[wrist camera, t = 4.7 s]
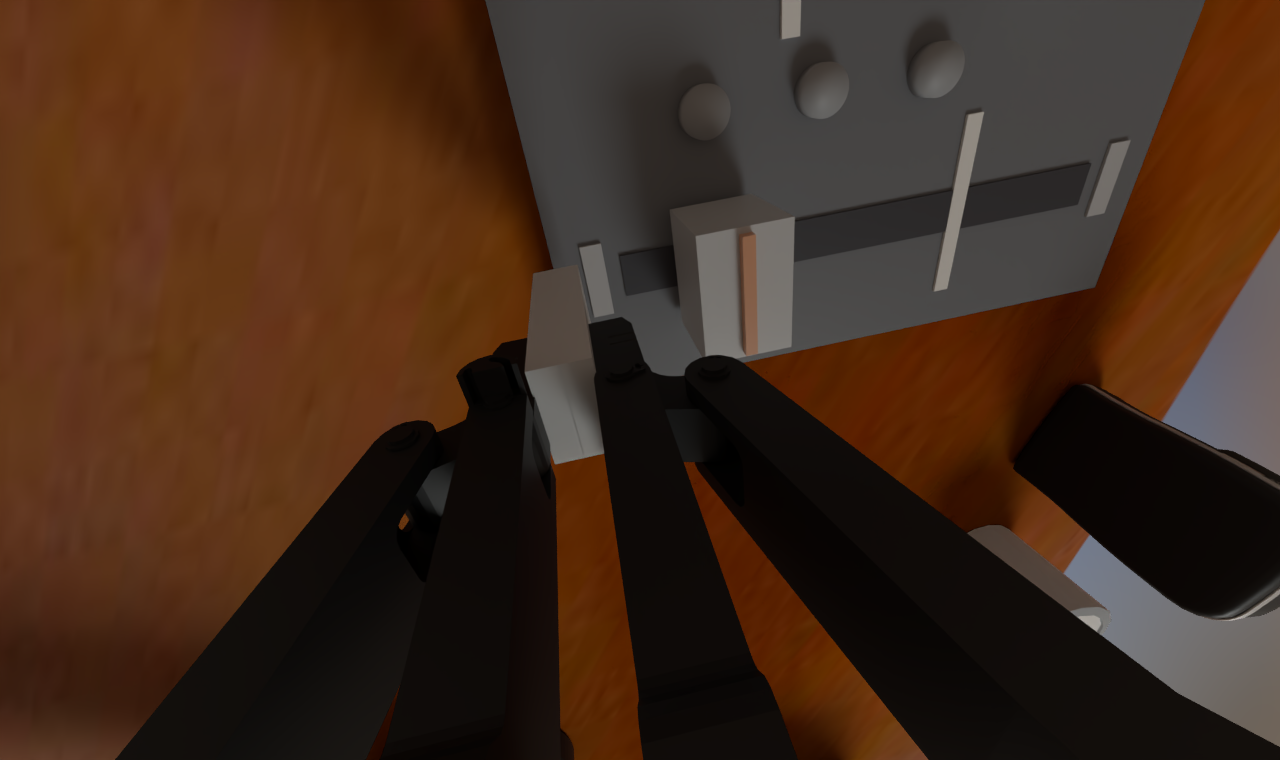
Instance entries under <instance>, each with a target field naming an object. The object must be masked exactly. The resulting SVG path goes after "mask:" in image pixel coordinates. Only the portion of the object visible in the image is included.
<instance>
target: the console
mask: <svg viewBox="0 0 1280 760" xmlns="http://www.w3.org/2000/svg"><path fill="white" fill-rule="evenodd" d="M485 1H486V5H487V9H488V13H489V17H490V21H491V25H492V29H493V33H494V37H495V40H496V44H497V48H498V52H499V56H500V60H501V64H502V68H503V72H504V76H505V80H506V84H507V88H508V92H509V96H510V100H511V104H512V107H513V111H514V115H515V119H516V123H517V127H518V131H519V135H520V139H521V143H522V147H523V151H524V155H525V159H526V163H527V167H528V171H529V174H530V178H531V182H532V186H533V190H534V194H535V198H536V202H537V206H538V210H539V214H540V218H541V222H542V226H543V230H544V234H545V238H546V241H547V245H548V249H549V253H550V257H551V261H552V265H553V269H558V268H563V267H568V266H573V265H578V269H579V273H580V278H581V282H582V286H583V291H584V295H585V300H586V304H587V308H588V313H589V317H590V322H591V323H595V322H600V321H604V320H609V319H614V318H619V317H623V318H624V319H626V320H628V321H629V322H631V323H632V326H633V329H634V333H635V335H636V338H637V341H638V344H639V347H640V350H641V352H642V355H643V358H644V361H645V362H646V363H647V364H648V366H649V367H650V368H651V371H652V372H654V373H657V374H660V375H665V376H682V375H684V373H685V368H686V367H687V366H688V365H689V364H690V363H691V362H693V361H695V360H697V359H699V358H702V356H701V354H700V352H699V351H698V349H697V347H696V345H695V344H694V342H693V340H692V338H691V336H690V335H689V333H688V331H687V329H686V328H685V326H684V324H683V322H682V317H681V308H680V299H679V290H678V281H677V272H676V263H675V254H674V245H673V236H672V227H671V218H670V209H675V208H680V207H685V206H690V205H695V204H701V203H706V202H711V201H716V200H721V199H726V198H732V197H737V196H742V195H747V194H753V195H755V196H757V197H759V198H760V199H762V200H764V201H766V202H768V203H770V204H772V205H774V206H776V207H777V208H779V209H781V210H783V211H785V212H787V213H789V214H791V215H793V216H794V217H795V225H794V264H793V303H792V343H791V347H788V348H784V349H779V350H774V351H770V352H765V353H760V354H756V355H751V356H746V357H741V358H737V360H739V361H741V362H742V363H743V362H748V361H752V360H757V359H762V358H766V357H771V356H776V355H781V354H785V353H790V352H795V351H799V350H804V349H809V348H813V347H818V346H823V345H827V344H832V343H837V342H841V341H846V340H851V339H855V338H860V337H865V336H870V335H874V334H879V333H884V332H888V331H893V330H898V329H902V328H907V327H912V326H916V325H921V324H926V323H930V322H935V321H940V320H944V319H949V318H954V317H958V316H963V315H968V314H973V313H977V312H982V311H987V310H991V309H996V308H1001V307H1005V306H1010V305H1015V304H1019V303H1024V302H1029V301H1033V300H1038V299H1043V298H1047V297H1052V296H1057V295H1062V294H1066V293H1071V292H1076V291H1080V290H1085V289H1090V288H1094V287H1095V286H1096V283H1097V281H1098V278H1099V275H1100V273H1101V270H1102V268H1103V265H1104V262H1105V260H1106V257H1107V255H1108V252H1109V249H1110V247H1111V244H1112V242H1113V239H1114V236H1115V234H1116V231H1117V229H1118V226H1119V223H1120V221H1121V218H1122V216H1123V213H1124V210H1125V208H1126V205H1127V203H1128V200H1129V197H1130V195H1131V192H1132V190H1133V187H1134V184H1135V182H1136V179H1137V177H1138V174H1139V171H1140V169H1141V166H1142V164H1143V161H1144V158H1145V156H1146V153H1147V151H1148V148H1149V145H1150V143H1151V140H1152V138H1153V135H1154V132H1155V130H1156V127H1157V124H1158V122H1159V119H1160V117H1161V114H1162V111H1163V109H1164V106H1165V104H1166V101H1167V98H1168V96H1169V93H1170V91H1171V88H1172V85H1173V83H1174V80H1175V78H1176V75H1177V72H1178V70H1179V67H1180V65H1181V62H1182V59H1183V57H1184V54H1185V52H1186V49H1187V46H1188V44H1189V41H1190V39H1191V36H1192V33H1193V31H1194V28H1195V26H1196V23H1197V20H1198V18H1199V15H1200V13H1201V10H1202V7H1203V5H1204V2H1205V0H485Z"/></svg>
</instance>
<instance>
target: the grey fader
mask: <svg viewBox="0 0 1280 760" xmlns="http://www.w3.org/2000/svg"><path fill="white" fill-rule="evenodd" d="M670 218H671V227H672V236H673V245H674V254H675V263H676V272H677V281H678V290H679V299H680V308H681V317H682V322H683V324H684V326H685V328H686V329H687V331H688V333H689V335H690V336H691V338H692V340H693V342H694V344H695V345H696V347H697V349H698V351H699V352H700V354H701V356H702V357H706V356H709V355H724V356H729V357H733V358H735V359H737V358H741V357H746V356H751V355H756V354H760V353H765V352H770V351H774V350H779V349H784V348H788V347H791V343H792V303H793V264H794V225H795V217H794V216H793V215H791V214H789V213H787V212H785V211H783V210H781V209H779V208H777V207H776V206H774V205H772V204H770V203H768V202H766V201H764V200H762V199H760V198H759V197H757V196H755V195H753V194H747V195H742V196H737V197H732V198H726V199H721V200H716V201H711V202H706V203H701V204H695V205H690V206H685V207H680V208H675V209H670Z"/></svg>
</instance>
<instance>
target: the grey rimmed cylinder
mask: <svg viewBox="0 0 1280 760" xmlns="http://www.w3.org/2000/svg"><path fill="white" fill-rule="evenodd" d="M967 534H969V535H970V536H971V537H973V538H974V539H975V540H977V541H978V542H979V543H980V544H982V545H983V546H984V547H986V548H987V549H988V550H990V551H991V552H992V553H994V554H995V555H996V556H998V557H999V558H1000V559H1002V560H1003V561H1004V562H1005V563H1007V564H1008V565H1009V566H1011V567H1012V568H1013V569H1015V570H1016V571H1017V572H1019V573H1020V574H1021V575H1023V576H1024V577H1025V578H1027V579H1028V580H1029V581H1030V582H1032V583H1033V584H1034V585H1036V586H1037V587H1038V588H1040V589H1041V590H1042V591H1044V592H1045V593H1046V594H1048V595H1049V596H1050V597H1052V598H1053V599H1054V600H1055V601H1057V602H1058V603H1059V604H1061V605H1062V606H1063V607H1065V608H1066V609H1067V610H1069V611H1070V612H1071V613H1073V614H1074V615H1075V616H1077V617H1078V618H1079V619H1080V620H1082V621H1083V622H1084V623H1086V624H1087V625H1088V626H1090V627H1091V628H1092V629H1094V630H1095V631H1096V632H1098V633H1099V634H1100V635H1102V634H1103V633H1104V632H1105V630H1106V629H1107V627H1108V625H1109V623H1110V622H1111V616H1110V611H1108V610H1107V609H1106V608H1105V607H1103V606H1102V605H1101V604H1100V603H1099V602H1097V601H1096V600H1095V599H1094V598H1093V597H1091V596H1090V595H1089V594H1088V593H1086V592H1085V591H1084V590H1083V589H1082V588H1080V587H1079V586H1078V585H1077V584H1075V583H1074V582H1073V581H1072V580H1070V579H1069V578H1068V577H1067V576H1066V575H1064V574H1063V573H1062V572H1061V571H1060V570H1058V569H1057V568H1056V567H1055V566H1053V565H1052V564H1051V563H1050V562H1048V561H1047V560H1046V559H1045V558H1044V557H1042V556H1041V555H1040V554H1039V553H1037V552H1036V551H1035V550H1034V549H1033V548H1031V547H1030V546H1029V545H1028V544H1026V543H1025V542H1024V541H1023V540H1022V539H1020V538H1019V537H1018V536H1017V535H1015V534H1014V533H1013V532H1012V531H1010V530H1009V529H1007V528H1005V527H1004V526H1002V525H988V526H984V527H980V528H977V529H974V530H972V531H970V532H968V533H967Z"/></svg>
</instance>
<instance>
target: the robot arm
mask: <svg viewBox="0 0 1280 760" xmlns="http://www.w3.org/2000/svg"><path fill="white" fill-rule="evenodd" d="M456 377H457V379H458V382H459V384H460V386H461V389H462V391H463V394H464V396H465V398H466V401H467V403H468V405H469V409H468V413H467V417H466V420H464V421H462V422H460V423H458V424H456V425H454V426H452V427H449V428H447V429H444V430H442V431H439V432H436V430H435V428H434V426H433V424H431V423H430V422H428V421H419V420H417V421H411V422H405V423H402V424H400V425H397V426H395V427H393V428H391V429H390V430H389V431H387V432H385V433H384V434H382V435H381V436H380V437H379V438H378V439H377V440H376V441H375V442H374V443H373V444H372V445H371V447H370V448H369V449H368V450H367V452H366V453H365V454H364V455H363V456H362V458H361V459H360V460H359V461H358V463H357V464H356V465H355V466H354V467H353V469H352V470H351V471H350V472H349V474H348V475H347V476H346V477H345V479H344V480H343V481H342V482H341V483H340V485H339V486H338V487H337V488H336V490H335V491H334V492H333V493H332V494H331V496H330V497H329V498H328V499H327V501H326V502H325V503H324V504H323V506H322V507H321V508H320V509H319V510H318V512H317V513H316V514H315V515H314V517H313V518H312V519H311V520H310V521H309V523H308V524H307V525H306V526H305V528H304V529H303V530H302V531H301V532H300V534H299V535H298V536H297V537H296V539H295V540H294V541H293V542H292V544H291V545H290V546H289V547H288V548H287V550H286V551H285V552H284V553H283V555H282V556H281V557H280V558H279V559H278V561H277V562H276V563H275V564H274V566H273V567H272V568H271V569H270V570H269V572H268V573H267V574H266V575H265V577H264V578H263V579H262V580H261V582H260V583H259V584H258V585H257V586H256V588H255V589H254V590H253V591H252V593H251V594H250V595H249V596H248V597H247V599H246V600H245V601H244V602H243V604H242V605H241V606H240V607H239V609H238V610H237V611H236V612H235V613H234V615H233V616H232V617H231V618H230V620H229V621H228V622H227V623H226V624H225V626H224V627H223V628H222V629H221V631H220V632H219V633H218V634H217V635H216V637H215V638H214V639H213V640H212V642H211V643H210V644H209V645H208V647H207V648H206V649H205V650H204V651H203V653H202V654H201V655H200V656H199V658H198V659H197V660H196V661H195V662H194V664H193V665H192V666H191V667H190V669H189V670H188V671H187V672H186V673H185V675H184V676H183V677H182V678H181V680H180V681H179V682H178V683H177V685H176V686H175V687H174V688H173V689H172V691H171V692H170V693H169V694H168V696H167V697H166V698H165V699H164V700H163V702H162V703H161V704H160V705H159V707H158V708H157V709H156V710H155V712H154V713H153V714H152V715H151V716H150V718H149V719H148V720H147V721H146V723H145V724H144V725H143V726H142V727H141V729H140V730H139V731H138V732H137V734H136V735H135V736H134V737H133V738H132V740H131V741H130V742H129V743H128V745H127V746H126V747H125V748H124V750H123V751H122V752H121V753H120V754H119V756H118V757H117V758H116V759H115V760H366V758H367V756H368V754H369V752H370V749H371V747H372V745H373V743H374V741H375V738H376V736H377V734H378V732H379V730H380V727H381V725H382V723H383V721H384V719H385V716H386V714H387V712H388V710H389V708H390V706H391V703H392V701H393V699H394V697H395V695H396V692H397V690H398V688H399V686H400V688H399V692H398V696H397V700H396V704H395V708H394V712H393V716H392V721H391V725H390V729H389V733H388V737H387V741H386V745H385V747H384V750H383V753H382V756H381V758H380V760H574V748H573V745H572V742H571V741H570V739H569V738H568V737H567V736H566V735H565V734H564V733H562V732H561V731H560V690H559V636H558V582H557V528H556V478H555V475H554V472H553V469H552V466H551V463H550V451H551V454H552V457H553V460H554V463H555V464H559V463H563V462H568V461H572V460H577V459H581V458H586V457H590V456H595V455H599V454H604V455H605V462H606V468H607V475H608V482H609V489H610V496H611V503H612V510H613V517H614V524H615V531H616V538H617V545H618V552H619V559H620V566H621V573H622V580H623V587H624V594H625V601H626V608H627V614H628V621H629V628H630V635H631V642H632V649H633V656H634V663H635V670H636V677H637V684H638V693H639V702H638V720H639V729H640V737H641V746H642V753H643V760H798V759H797V756H796V753H795V751H794V748H793V745H792V742H791V740H790V737H789V734H788V731H787V729H786V726H785V723H784V721H783V718H782V715H781V712H780V710H779V707H778V705H777V702H776V700H775V697H774V695H773V692H772V690H771V687H770V685H769V683H768V682H767V680H766V678H765V676H764V675H763V674H762V673H761V672H760V671H759V670H758V669H757V667H756V666H755V664H754V661H753V659H752V656H751V653H750V651H749V648H748V645H747V642H746V639H745V636H744V634H743V631H742V628H741V625H740V622H739V619H738V616H737V614H736V611H735V608H734V605H733V602H732V599H731V597H730V594H729V591H728V588H727V585H726V582H725V579H724V577H723V574H722V571H721V568H720V565H719V562H718V559H717V557H716V554H715V551H714V548H713V545H712V542H711V540H710V537H709V534H708V531H707V528H706V525H705V522H704V520H703V517H702V514H701V511H700V508H699V505H698V502H697V500H696V497H695V494H694V491H693V488H692V485H691V482H690V480H689V477H688V474H687V471H686V468H685V465H684V463H683V462H695V465H696V467H697V469H698V471H699V472H700V473H701V475H702V476H703V477H704V478H705V480H706V481H707V482H708V484H709V485H710V486H711V487H712V489H713V490H714V491H715V492H716V494H717V495H718V496H719V497H720V499H721V500H722V501H723V502H724V504H725V505H726V506H727V507H728V509H729V510H730V511H731V512H732V514H733V515H734V516H735V517H736V519H737V520H738V521H739V522H740V524H741V525H742V526H743V527H744V529H745V530H746V531H747V532H748V534H749V535H750V536H751V537H752V539H753V540H754V541H755V542H756V544H757V545H758V546H759V547H760V549H761V550H762V551H763V553H764V554H765V555H766V556H767V558H768V559H769V560H770V561H771V563H772V564H773V565H774V566H775V568H776V569H777V570H778V571H779V573H780V574H781V575H782V576H783V578H784V579H785V580H786V581H787V583H788V584H789V585H790V586H791V588H792V589H793V590H794V591H795V593H796V594H797V595H798V596H799V598H800V599H801V600H802V601H803V603H804V604H805V605H806V606H807V608H808V609H809V610H810V611H811V613H812V614H813V615H814V616H815V618H816V619H817V620H818V621H819V623H820V624H821V625H822V627H823V628H824V629H825V630H826V632H827V633H828V634H829V635H830V637H831V638H832V639H833V640H834V642H835V643H836V644H837V645H838V647H839V648H840V649H841V650H842V652H843V653H844V654H845V655H846V657H847V658H848V659H849V660H850V662H851V663H852V664H853V665H854V667H855V668H856V669H857V670H858V672H859V673H860V674H861V675H862V677H863V678H864V679H865V680H866V682H867V683H868V684H869V685H870V687H871V688H872V689H873V690H874V692H875V693H876V694H877V695H878V697H879V698H880V699H881V701H882V702H883V703H884V704H885V706H886V707H887V708H888V709H889V711H890V712H891V713H892V714H893V716H894V717H895V718H896V719H897V721H898V722H899V723H900V724H901V726H902V727H903V728H904V729H905V731H906V732H907V733H908V734H909V736H910V737H911V738H912V739H913V741H914V742H915V743H916V744H917V746H918V747H919V748H920V749H921V751H922V752H923V753H924V754H925V756H926V757H927V758H928V759H929V760H1280V747H1279V746H1277V745H1274V744H1273V743H1271V742H1269V741H1267V740H1265V739H1264V738H1262V737H1260V736H1258V735H1256V734H1254V733H1252V732H1250V731H1248V730H1246V729H1245V728H1243V727H1241V726H1239V725H1237V724H1235V723H1233V722H1231V721H1229V720H1227V719H1226V718H1224V717H1222V716H1220V715H1218V714H1216V713H1214V712H1212V711H1210V710H1208V709H1206V708H1205V707H1203V706H1201V705H1199V704H1197V703H1195V702H1193V701H1191V700H1189V699H1188V698H1186V697H1184V696H1182V695H1180V694H1178V693H1177V692H1175V691H1174V690H1173V689H1171V688H1170V687H1169V686H1167V685H1166V684H1165V683H1163V682H1162V681H1161V680H1159V679H1158V678H1156V677H1155V676H1154V675H1153V674H1152V673H1150V672H1149V671H1148V670H1146V669H1145V668H1144V667H1142V666H1141V665H1140V664H1138V663H1137V662H1136V661H1134V660H1133V659H1132V658H1130V657H1129V656H1128V655H1127V654H1125V653H1124V652H1123V651H1121V650H1120V649H1119V648H1117V647H1116V646H1115V645H1113V644H1112V643H1111V642H1109V641H1108V640H1107V639H1105V638H1104V637H1103V636H1102V635H1100V634H1099V633H1098V632H1096V631H1095V630H1094V629H1092V628H1091V627H1090V626H1088V625H1087V624H1086V623H1084V622H1083V621H1082V620H1080V619H1079V618H1078V617H1077V616H1075V615H1074V614H1073V613H1071V612H1070V611H1069V610H1067V609H1066V608H1065V607H1063V606H1062V605H1061V604H1059V603H1058V602H1057V601H1055V600H1054V599H1053V598H1052V597H1050V596H1049V595H1048V594H1046V593H1045V592H1044V591H1042V590H1041V589H1040V588H1038V587H1037V586H1036V585H1034V584H1033V583H1032V582H1030V581H1029V580H1028V579H1027V578H1025V577H1024V576H1023V575H1021V574H1020V573H1019V572H1017V571H1016V570H1015V569H1013V568H1012V567H1011V566H1009V565H1008V564H1007V563H1005V562H1004V561H1003V560H1002V559H1000V558H999V557H998V556H996V555H995V554H994V553H992V552H991V551H990V550H988V549H987V548H986V547H984V546H983V545H982V544H980V543H979V542H978V541H977V540H975V539H974V538H973V537H971V536H970V535H969V534H967V533H966V532H965V531H963V530H962V529H961V528H959V527H958V526H957V525H955V524H954V523H953V522H952V521H950V520H949V519H948V518H946V517H945V516H944V515H942V514H941V513H940V512H938V511H937V510H936V509H934V508H933V507H932V506H930V505H929V504H928V503H927V502H925V501H924V500H923V499H921V498H920V497H919V496H917V495H916V494H915V493H913V492H912V491H911V490H909V489H908V488H907V487H905V486H904V485H903V484H902V483H900V482H899V481H898V480H896V479H895V478H894V477H892V476H891V475H890V474H888V473H887V472H886V471H884V470H883V469H882V468H880V467H879V466H878V465H877V464H875V463H874V462H873V461H871V460H870V459H869V458H867V457H866V456H865V455H863V454H862V453H861V452H859V451H858V450H857V449H855V448H854V447H853V446H852V445H850V444H849V443H848V442H846V441H845V440H844V439H842V438H841V437H840V436H838V435H837V434H836V433H834V432H833V431H832V430H830V429H829V428H828V427H827V426H825V425H824V424H823V423H821V422H820V421H819V420H817V419H816V418H815V417H813V416H812V415H811V414H809V413H808V412H807V411H805V410H804V409H803V408H802V407H800V406H799V405H798V404H796V403H795V402H794V401H792V400H791V399H790V398H788V397H787V396H786V395H784V394H783V393H782V392H780V391H779V390H778V389H777V388H775V387H774V386H773V385H771V384H770V383H769V382H767V381H766V380H765V379H763V378H762V377H761V376H759V375H758V374H757V373H755V372H754V371H753V370H752V369H750V368H749V367H748V366H746V365H745V364H744V363H742V362H741V361H739V360H737V359H735V358H733V357H729V356H724V355H709V356H706V357H702V358H699V359H697V360H695V361H693V362H691V363H690V364H689V365H688V366H687V367H686V368H685V373H684V376H665V375H660V374H657V373H654V372H652V371H651V368H650V367H649V366H648V364H647V363H646V362H645V361H644V358H643V355H642V352H641V350H640V347H639V344H638V341H637V338H636V335H635V333H634V329H633V326H632V323H631V322H629V321H628V320H626V319H624V318H623V317H619V318H614V319H609V320H604V321H600V322H595V323H591V322H590V317H589V313H588V308H587V304H586V300H585V295H584V291H583V286H582V282H581V278H580V273H579V269H578V265H573V266H568V267H563V268H558V269H553V270H548V271H543V272H538V273H533V282H532V293H531V305H530V316H529V327H528V338H524V339H519V340H515V341H510V342H505V343H502V344H501V345H500V346H499V347H498V348H497V349H496V350H495V352H494V353H493V355H489V356H486V357H483V358H479V359H477V360H475V361H473V362H471V363H469V364H467V365H466V366H465V367H463V368H462V369H461V370H460V371H459V373H458V374H457V376H456ZM404 514H406V515H407V517H408V519H409V521H408V523H407V525H406V526H405V528H404V529H403V530H401V529H400V528H399V526H398V525H399V523H400V520H401V518H402V517H403V515H404Z"/></svg>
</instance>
